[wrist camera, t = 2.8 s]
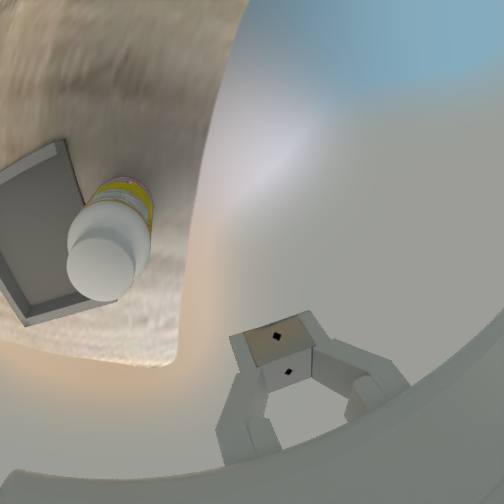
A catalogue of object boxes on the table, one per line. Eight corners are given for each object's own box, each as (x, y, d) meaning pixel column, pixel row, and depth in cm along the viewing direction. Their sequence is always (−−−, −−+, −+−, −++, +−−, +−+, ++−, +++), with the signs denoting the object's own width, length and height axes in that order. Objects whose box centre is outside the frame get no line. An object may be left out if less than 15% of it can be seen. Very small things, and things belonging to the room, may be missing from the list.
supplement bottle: (126, 247, 28) (111, 328, 17) (81, 209, 24) (37, 275, 14) (167, 204, 27) (170, 269, 16) (121, 161, 24) (88, 199, 13)
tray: (31, 312, 27) (25, 327, 25) (-27, 192, 18) (-40, 200, 15) (119, 286, 30) (117, 301, 27) (64, 138, 20) (54, 141, 18)
